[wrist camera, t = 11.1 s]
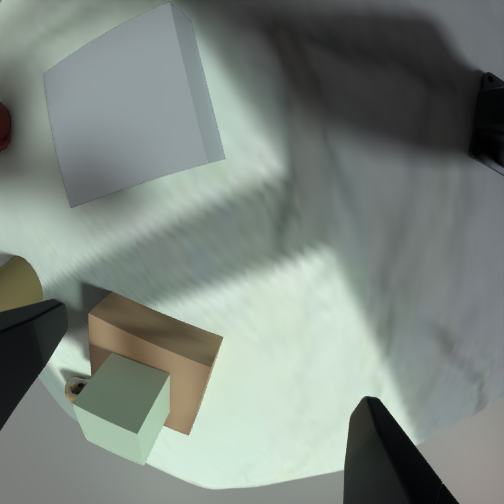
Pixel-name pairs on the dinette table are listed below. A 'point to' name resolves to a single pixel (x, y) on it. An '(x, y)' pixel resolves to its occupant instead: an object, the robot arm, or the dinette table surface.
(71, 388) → the pastry
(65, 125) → the grey block
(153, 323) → the walnut block
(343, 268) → the dinette table surface
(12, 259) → the cork
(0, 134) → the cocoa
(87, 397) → the green cube
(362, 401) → the robot arm
